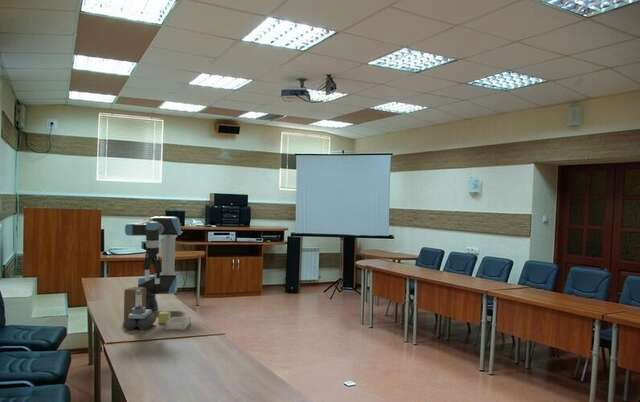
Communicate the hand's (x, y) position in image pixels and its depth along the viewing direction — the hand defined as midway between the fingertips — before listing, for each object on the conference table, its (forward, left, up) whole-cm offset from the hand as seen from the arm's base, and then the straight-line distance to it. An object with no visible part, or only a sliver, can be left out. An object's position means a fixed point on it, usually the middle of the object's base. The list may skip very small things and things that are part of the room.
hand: (152, 282), depth 288 cm
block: (-14, -15, -27) cm, 34 cm away
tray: (+1, +16, -27) cm, 31 cm away
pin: (+3, -7, -18) cm, 19 cm away
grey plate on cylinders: (+3, -6, -27) cm, 27 cm away
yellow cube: (-9, +5, -27) cm, 29 cm away
